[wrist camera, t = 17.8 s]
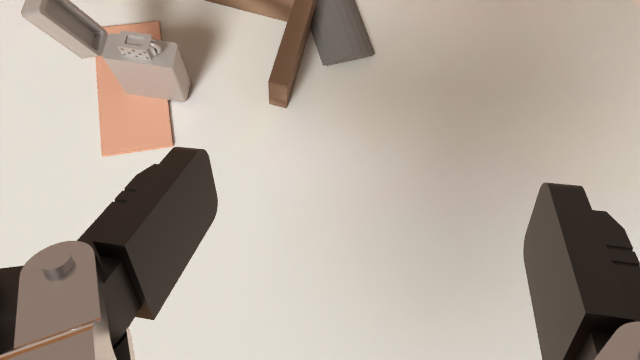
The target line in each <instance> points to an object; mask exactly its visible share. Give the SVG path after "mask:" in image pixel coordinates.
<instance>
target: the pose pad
mask: <svg viewBox="0 0 640 360" xmlns="http://www.w3.org/2000/svg"><path fill="white" fill-rule="evenodd" d="M102 28H104V29H105V30H106V31H107V34H108V35H109V34H111V33H115V34H120V32H121V31H122V30H123V31H130V32H137V33H144V34H151V35H152V38H153V39H155V40H161V34H160V25H159V21H156V22H147V23H138V24H129V25H120V26H111V27H102ZM96 71H97V87H98V103H99V118H100V134H101V150H102V156H103V157H104V156H111V155H117V154H124V153H131V152H138V151H145V150H151V149H158V148H165V147H172V146H173V141H172V132H171V123H170V114H169V105H168V100H167V99H159V98H152V97H145V96H138V95H131V94H126V92H125V91H124V89H123V88H122V86H121V85H120V83H119V81H118V80H117V78H116V77H115V75H114V74H113V72H112V71H111V69H110V68H109V66H108V64H107V63H106V61H105V60H104V58H103V57H102V55H101V56H96Z"/></svg>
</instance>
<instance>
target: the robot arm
mask: <svg viewBox="0 0 640 360" xmlns="http://www.w3.org/2000/svg"><path fill="white" fill-rule="evenodd" d="M217 205H218V199H217V193H216V188H215V183H214V179H213V174H212V169H211V164H210V159H209V156H208V153H207V152H206V151H205V150H204V149H194V148H183V147H174V148H173V149H172V150H171V151H170V152H169V153H168V154H167V155H166V157H165V158H164V159H163V160H162V161H161V162H160V164H154V165H152V166H150V167H149V168H147V169H145V170H144V171H142V172H141V173H139V174H137V175H136V176H135V177H134V178H133V179H132V181H131V182H130V183H129V184H128V185H127V186H126V187H125V190H124V191H122V192H121V193H120V194H119V195H118V196H117V197H116V198H115V202H112V203H111V204H110V205H109V206H108V207H107V208H106V209H105V210H104V212H103V213H102V214H101V215H100V216H99V217H98V218H97V219H96V220H95V221H94V223H93V224H92V225H91V226H90V227H89V228H88V229H87V230H86V231H85V233H84V234H83V235H82V236H81V237H80V238H79V239H78V240H77V241H66V242H61V243H57V244H54V245H51V246H49V247H47V248H45V249H43V250H41V251H40V252H38V253H37V254H35V255H34V256H33V257H32V258H30V259H29V260H28V261H27V263H26V264H25V265H24V266H18V267H9V268H1V269H0V360H135V356H134V349H133V343H132V337H131V333H130V330H129V328H128V327H129V325H130V324H131V322H132V321H133V319H134V318H135V317H139V318H145V319H151V320H154V319H155V317H156V316H157V314H158V312H159V311H160V309H161V307H162V306H163V304H164V302H165V301H166V299H167V297H168V296H169V294H170V292H171V291H172V289H173V287H174V286H175V284H176V282H177V281H178V279H179V277H180V276H181V274H182V272H183V271H184V269H185V267H186V266H187V264H188V262H189V261H190V259H191V257H192V256H193V254H194V252H195V251H196V249H197V247H198V246H199V244H200V242H201V241H202V239H203V237H204V236H205V234H206V232H207V231H208V229H209V227H210V226H211V224H212V222H213V220H214V218H215V216H216V212H217ZM632 250H633V247H632V245H631V243H630V241H629V238H628V236H627V234H626V232H625V230H624V228H623V227H622V226H621V225H620V224H619V223H617V222H616V221H615V220H614V219H613V218H612V217H611V216H610V215H609V214H608V213H607V212H605V211H595V210H592V208H591V206H590V203H589V201H588V198H587V196H586V193H585V191H584V189H583V187H582V186H575V185H565V184H554V183H543V184H542V186H541V188H540V190H539V193H538V196H537V200H536V203H535V206H534V209H533V212H532V215H531V219H530V222H529V225H528V228H527V231H526V235H525V240H524V263H525V268H526V273H527V279H528V284H529V290H530V295H531V300H532V306H533V311H534V316H535V322H536V327H537V333H538V338H539V343H540V349H541V354H542V360H640V263H639V260H638V258H637V256H636V254H635V252H633V251H632Z"/></svg>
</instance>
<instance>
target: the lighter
mask: <svg viewBox="0 0 640 360" xmlns="http://www.w3.org/2000/svg"><path fill="white" fill-rule="evenodd" d="M21 14H22V16H23V18H25V19H26V20H28V21H29V22H31V23H32V24H33V25H35V26H36V27H38V28H39V29H40V30H42V31H43V32H45V33H46V34H48V35H49V36H50V37H52V38H53V39H55V40H56V41H58V42H59V43H60V44H62V45H63V46H65V47H66V48H68V49H69V50H70V51H72V52H73V53H75V54H76V55H78V56H79V57H80V58H82V59H83V58H89V57H96V56H101V55H102V57H103V58H104V60H105V61H106V63H107V64H108V66H109V68H110V69H111V71H112V72H113V74H114V75H115V77H116V78H117V80H118V81H119V83H120V85H121V86H122V88H123V89H124V91H125V92H126V94H131V95H138V96H145V97H152V98H159V99H167V100H174V101H181V102H184V101H186V100H187V97H188V92H189V88H190V84H191V81H190V78H189V75H188V72H187V70H186V67H185V64H184V61H183V58H182V56H181V53H180V50H179V47H178V45H177V44H176V42H169V41H162V40H155V39H153V38H152V35H151V34H144V33H137V32H130V31H123V30H122V31H121V32H120V34H115V33H111V34H109V35H108V34H107V31H106V30H105V29H104V28H102V27H101V26H100V25H99V24H98V23H96V22H95V21H94V20H93V19H91V18H90V17H89V16H88V15H86V14H85V13H84V12H83V11H82V10H80V9H79V8H78V7H77V6H75V5H74V4H73V3H72V2H71V1H69V0H25V3H24V5H23V8H22V11H21Z"/></svg>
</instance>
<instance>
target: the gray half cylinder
mask: <svg viewBox="0 0 640 360" xmlns="http://www.w3.org/2000/svg"><path fill="white" fill-rule="evenodd" d="M311 31H312V34H313V37H314V40H315V43H316V46H317V49H318V52H319V55H320V58H321V61H322V64H323V65H326V66H327V65H332V64H337V63H341V62H346V61H350V60H355V59H359V58H364V57H368V56H372V55H374V51H373V48H372V46H371V43H370V40H369V38H368V35H367V32H366V30H365V27H364V24H363V22H362V19H361V16H360V14H359V11H358V8H357V6H356V3H355V0H316V5H315V11H314V15H313V19H312V23H311Z"/></svg>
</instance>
